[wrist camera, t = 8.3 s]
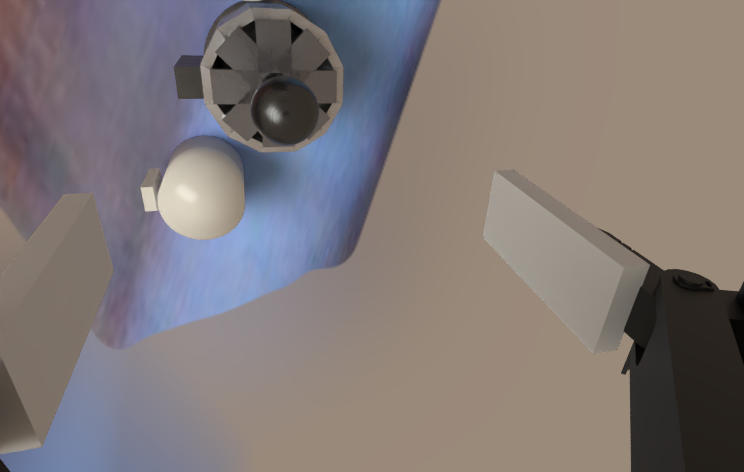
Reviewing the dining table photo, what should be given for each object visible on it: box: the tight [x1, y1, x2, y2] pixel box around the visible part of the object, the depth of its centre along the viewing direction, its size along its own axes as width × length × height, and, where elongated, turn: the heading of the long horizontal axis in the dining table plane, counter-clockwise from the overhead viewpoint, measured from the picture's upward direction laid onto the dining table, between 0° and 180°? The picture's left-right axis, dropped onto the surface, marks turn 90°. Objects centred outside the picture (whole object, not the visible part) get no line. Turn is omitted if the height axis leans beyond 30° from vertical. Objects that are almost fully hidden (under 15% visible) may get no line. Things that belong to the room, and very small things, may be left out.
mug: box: [141, 135, 245, 240], centre depth 47 cm, size 8×9×9 cm
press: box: [174, 0, 344, 152], centre depth 42 cm, size 12×14×12 cm
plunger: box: [222, 20, 319, 146], centre depth 37 cm, size 9×9×20 cm
